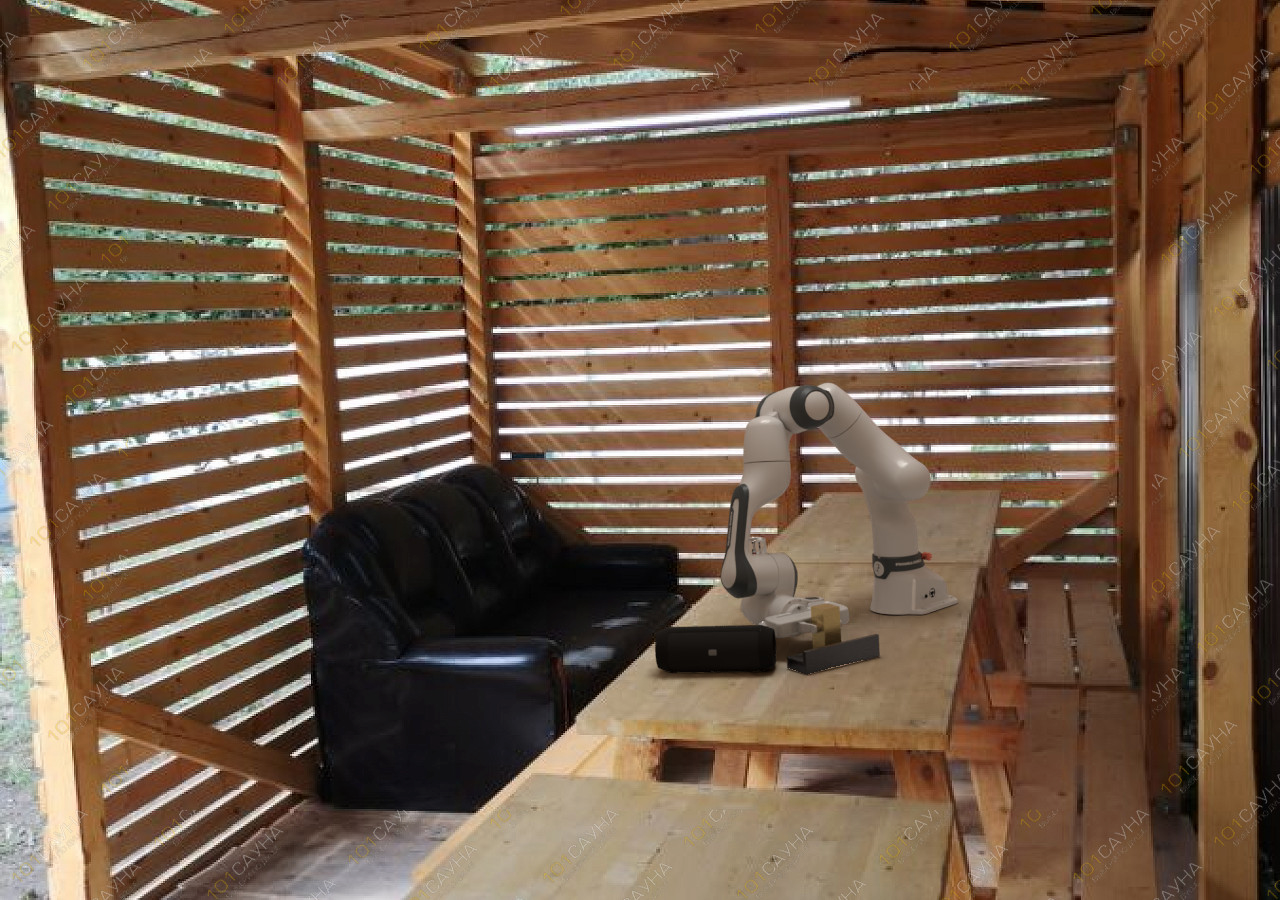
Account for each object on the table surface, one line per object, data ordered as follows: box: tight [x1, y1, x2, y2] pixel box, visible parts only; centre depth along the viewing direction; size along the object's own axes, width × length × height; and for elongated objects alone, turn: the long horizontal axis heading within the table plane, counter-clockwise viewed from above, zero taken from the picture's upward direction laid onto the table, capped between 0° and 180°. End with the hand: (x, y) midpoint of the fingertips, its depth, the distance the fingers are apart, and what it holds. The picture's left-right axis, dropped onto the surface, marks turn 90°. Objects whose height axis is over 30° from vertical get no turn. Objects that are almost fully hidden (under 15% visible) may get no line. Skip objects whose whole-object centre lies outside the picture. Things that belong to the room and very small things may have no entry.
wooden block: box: [811, 603, 842, 649], centre depth 298 cm, size 4×4×10 cm
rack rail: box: [786, 633, 881, 676], centre depth 294 cm, size 7×20×5 cm, turn 120°
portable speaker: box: [654, 624, 777, 674], centre depth 294 cm, size 26×10×10 cm, turn 79°
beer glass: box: [749, 536, 768, 554], centre depth 366 cm, size 7×7×15 cm
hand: (828, 626), depth 297 cm, fingers closed on wooden block, 4 cm apart
